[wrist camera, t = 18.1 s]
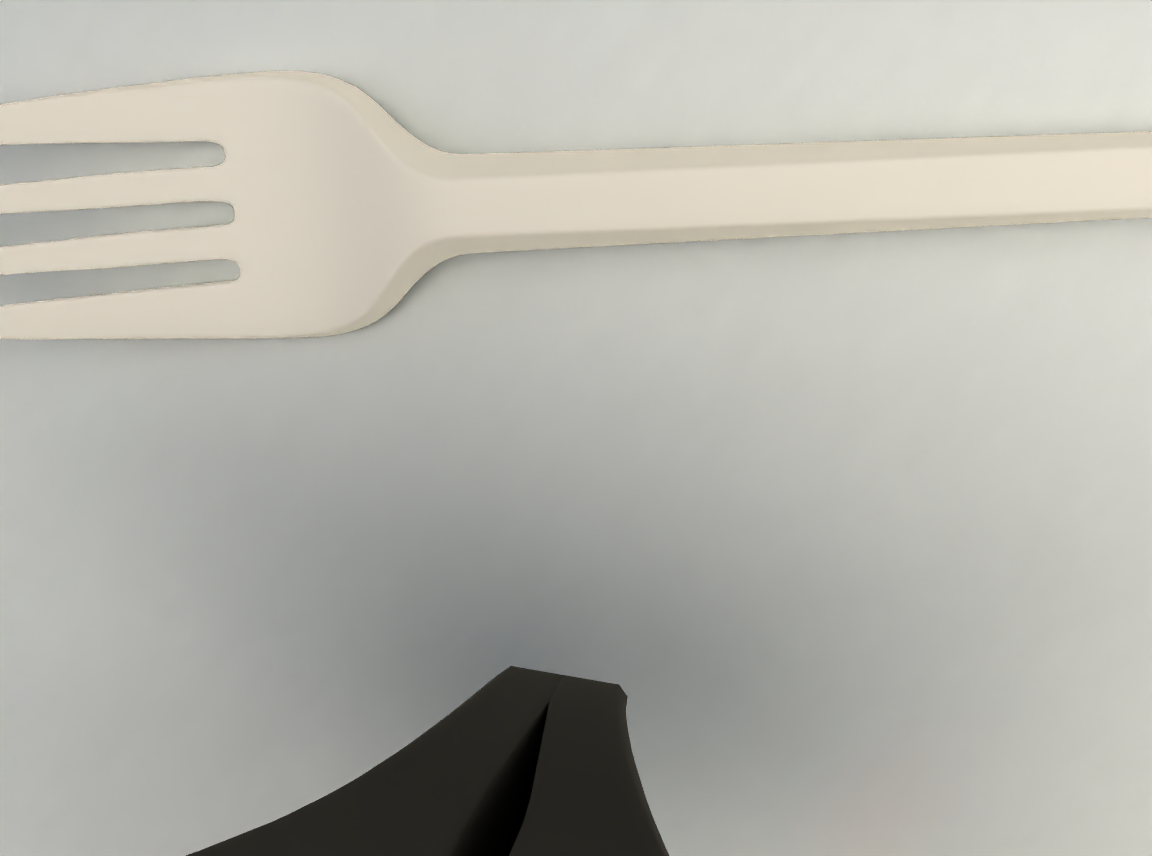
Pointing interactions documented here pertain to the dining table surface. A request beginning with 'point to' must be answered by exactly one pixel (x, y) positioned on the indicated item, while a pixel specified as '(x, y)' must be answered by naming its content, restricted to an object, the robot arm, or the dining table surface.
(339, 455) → the dining table surface
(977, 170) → the fork
